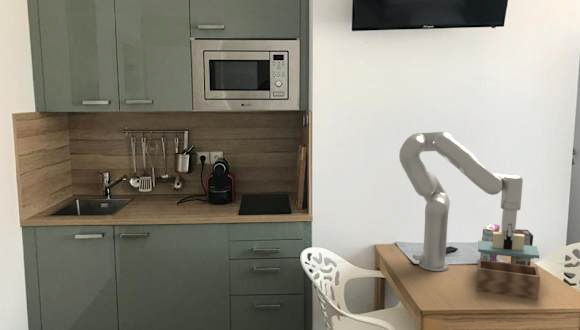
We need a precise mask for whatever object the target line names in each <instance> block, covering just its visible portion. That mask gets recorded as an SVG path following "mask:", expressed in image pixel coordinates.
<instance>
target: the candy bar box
mask: <svg viewBox="0 0 580 330" xmlns="http://www.w3.org/2000/svg"><path fill="white" fill-rule="evenodd" d="M500 228H501V226H500V225H498V224H493V223H489V224H487V225H486V226H485V227H483V228H482V237H481V241H488V242H492V239H493V232H500ZM497 256H498V255H493V254H484V253H483V252H480V258H479V260H487V261H494V260H495V259H496V260H497ZM496 260H495V261H496Z"/></svg>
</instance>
